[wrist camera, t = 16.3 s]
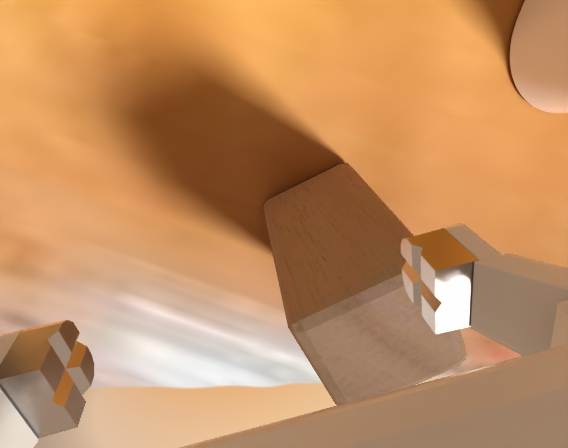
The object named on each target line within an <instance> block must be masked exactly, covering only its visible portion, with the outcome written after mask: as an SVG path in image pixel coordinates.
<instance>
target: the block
mask: <svg viewBox="0 0 568 448" xmlns="http://www.w3.org/2000/svg"><path fill="white" fill-rule="evenodd" d="M263 208H264V215H265V220H266V225H267V229H268V234H269V239H270V243H271V248H272V253H273V258H274V262H275V267H276V272H277V276H278V281H279V286H280V291H281V295H282V300H283V305H284V309H285V314H286V319H287V324H288V328H289V329H290V331H291V333H292V334H293V336H294V338H295V339H296V341H297V342H298V344H299V346H300V347H301V349H302V350H303V352H304V354H305V355H306V357H307V359H308V360H309V362H310V363H311V365H312V367H313V368H314V370H315V372H316V373H317V375H318V376H319V378H320V380H321V381H322V383H323V384H324V386H325V388H326V389H327V391H328V392H329V394H330V396H331V397H332V399H333V401H334V402H335V404H336V405H337V406H338V405H342V404H345V403H349V402H353V401H357V400H361V399H364V398H368V397H372V396H376V395H380V394H383V393H387V392H391V391H395V390H399V389H402V388H406V387H410V386H414V385H416V384H418V383H420V382H423V381H425V380H427V379H429V378H432V377H434V376H436V375H439V374H441V373H443V372H446V371H448V370H450V369H452V368H455V367H457V366H459V365H460V364H461V363H462V362H463V361H465V360H466V349H465V344H464V341H463V338H462V335H461V333H460V330H459V329H457V330H453V331H449V332H444V333H440V334H436V335H435V333H434V332H433V330H432V329H431V328H430V326H429V325H428V323H427V322H426V321H425V319H424V318H423V317H422V307H419V306H417V305H415V304H413V302H412V301H411V299H410V298H409V296H408V294H407V292H406V290H405V286H404V282H403V277H402V267H403V266H404V264H405V263H406V259H405V258H404V257H403V256H402V254H401V241H402V239H405V238H408V237H412V236H414V235H413V234H412V233H411V232H410V231H409V230H408V229H407V228H406V226H405V225H404V224H403V223H402V222H401V221H400V220H399V219H398V218H397V217H396V215H395V214H394V213H393V212H392V211H391V210H390V209H389V208H388V207H387V205H386V204H385V203H384V202H383V201H382V200H381V199H380V198H379V197H378V195H377V194H376V193H375V192H374V191H373V190H372V189H371V188H370V187H369V186H368V184H367V183H366V182H365V181H364V180H363V179H362V178H361V177H360V176H359V174H358V173H357V172H356V171H355V170H354V169H353V168H352V167H351V166H350V165H349V164H348V163H344V164H339V165H337V166H335V167H333V168H331V169H329V170H327V171H325V172H323V173H321V174H319V175H317V176H315V177H313V178H311V179H309V180H307V181H304V182H302V183H300V184H298V185H296V186H294V187H292V188H290V189H288V190H286V191H284V192H282V193H280V194H278V195H276V196H274V197H272V198H270V199H268V200H267V201H266V202H265V203H264V204H263Z"/></svg>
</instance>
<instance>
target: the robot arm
mask: <svg viewBox="0 0 568 448" xmlns="http://www.w3.org/2000/svg"><path fill="white" fill-rule="evenodd" d="M510 67H511V73H512V77H513V80H514V83H515V85H516V88H517V89H518V91H519V93H520V94H521V96H522V97H523V98H524V99H525V100H526V101H527V102H528V103H529V104H531V105H532V106H534V107H535V108H537V109H540V110H542V111H545V112H550V113H567V112H568V0H525V1H524V4H523V6H522V8H521V11H520V13H519V16H518V18H517V21H516V24H515V27H514V30H513V35H512V39H511V46H510ZM401 254H402V256H403V257H404V258H405V259H406V263H405V264H404V266H403V267H402V277H403V282H404V286H405V290H406V292H407V294H408V296H409V298H410V299H411V301H412V302H413V304H415V305H417V306H419V307H422V317H423V318H424V319H425V321H426V322H427V323H428V325H429V326H430V328H431V329H432V330H433V332H434V333H435V335H436V334H440V333H444V332H449V331H453V330H457V329H462V328H466V327H470V326H471V329H473V330H475V331H477V332H479V333H481V334H483V335H484V336H486V337H488V338H490V339H492V340H494V341H496V342H498V343H499V344H501V345H503V346H505V347H507V348H509V349H511V350H513V351H514V352H516V353H518V354H520V355H522V357H519V358H515V359H511V360H507V361H504V362H500V363H496V364H492V365H489V366H485V367H481V368H478V369H474V370H470V371H467V372H463V373H459V374H455V375H452V376H448V377H444V378H441V379H436V380H433V381H429V382H425V383H422V384H418V385H414V386H410V387H406V388H402V389H399V390H395V391H391V392H387V393H383V394H380V395H376V396H372V397H368V398H364V399H361V400H357V401H353V402H349V403H345V404H342V405H338V406H334V407H330V408H327V409H323V410H319V411H316V412H312V413H308V414H304V415H300V416H297V417H293V418H289V419H285V420H281V421H278V422H274V423H270V424H266V425H263V426H259V427H256V428H251V429H248V430H244V431H240V432H236V433H233V434H229V435H225V436H221V437H218V438H214V439H210V440H207V441H203V442H199V443H195V444H191V445H188V446H184V447H180V448H568V268H564V267H560V266H556V265H552V264H548V263H544V262H541V261H537V260H533V259H529V258H525V257H521V256H517V255H513V254H509V253H508V254H504V255H502V254H501V253H499V252H498V251H497V250H496V249H494V248H493V247H492V246H491V245H489V244H488V243H487V242H486V241H484V240H483V239H482V238H481V237H479V236H478V235H477V234H476V233H474V232H473V231H472V230H471V229H469V228H468V227H467V226H466V225H464V224H460V223H459V224H456V225H452V226H449V227H445V228H441V229H439V230H435V231H431V232H427V233H424V234H420V235H416V236H412V237H408V238H405V239H402V241H401ZM78 336H79V331H78V329H77V328H76V326H75V325H74V323H73V322H71V321H68V320H65V321H61V322H56V323H52V324H47V325H43V326H38V327H34V328H29V329H25V330H20V331H16V332H12V333H8V334H4V335H2V336H0V448H33V447H34V446H35V444H36V443H37V442H38V438H41V437H45V436H48V435H51V434H55V433H59V432H62V431H66V430H69V429H72V428H76V427H78V424H79V421H80V418H81V415H82V412H83V409H84V406H85V403H86V401H85V400H84V398H83V396H82V395H83V394H84V393H85V391H87V389H88V388H89V387H90V386H91V384H92V381H93V377H94V362H93V358H92V355H91V353H90V351H89V349H88V347H87V346H85V345H83V344H81V343H79V342H77V339H78Z"/></svg>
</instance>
